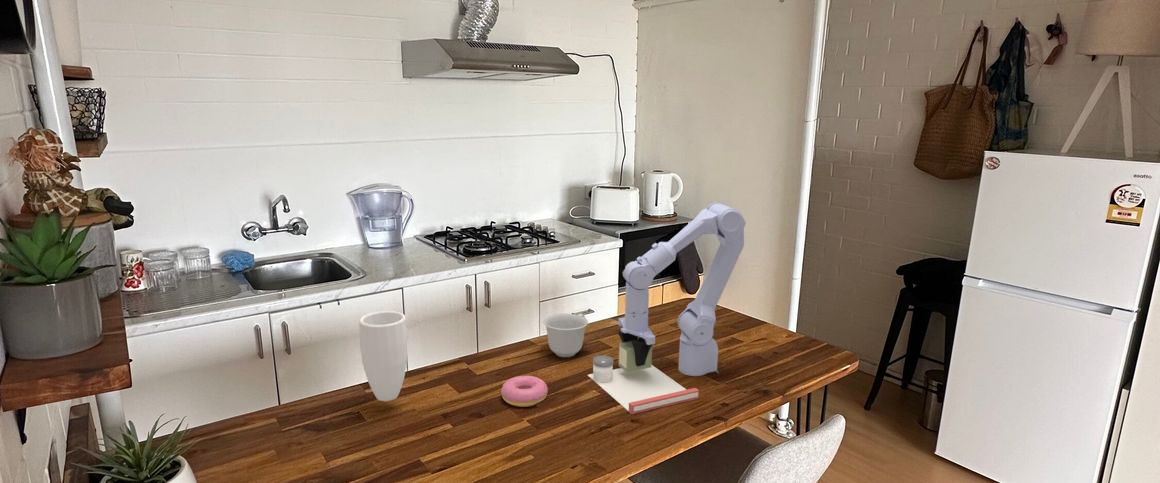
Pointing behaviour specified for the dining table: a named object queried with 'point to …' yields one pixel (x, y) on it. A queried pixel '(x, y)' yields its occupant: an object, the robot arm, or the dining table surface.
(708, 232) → the robot arm
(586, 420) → the dining table surface
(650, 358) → the carton
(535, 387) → the doughnut
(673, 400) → the shelf board
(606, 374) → the spice jar
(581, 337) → the teacup
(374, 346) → the white vase
